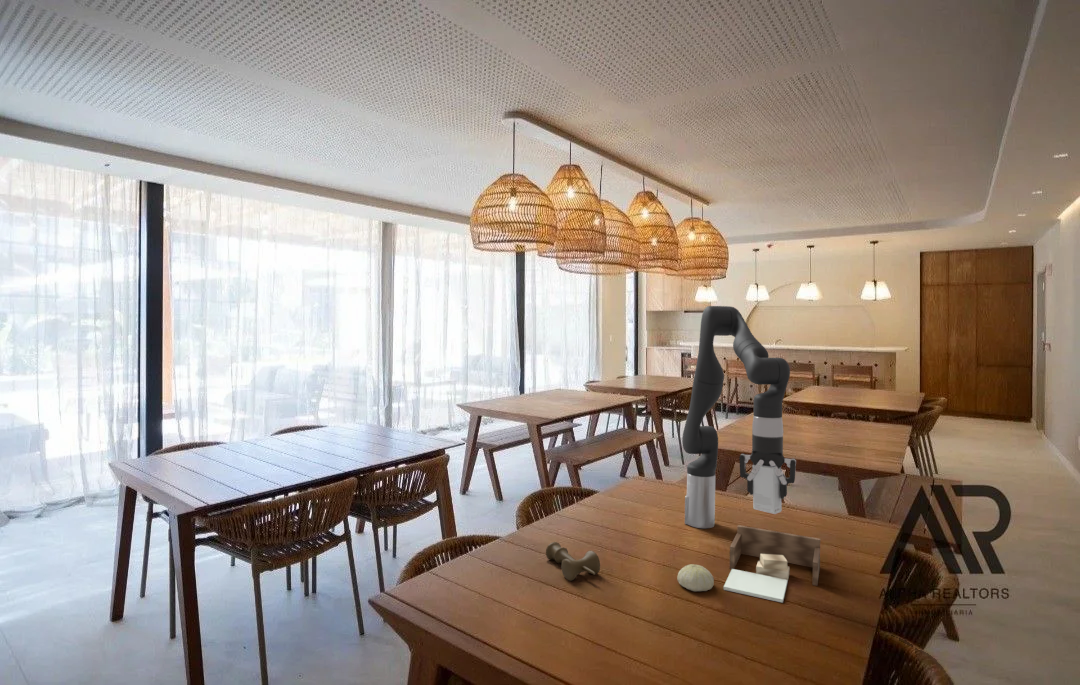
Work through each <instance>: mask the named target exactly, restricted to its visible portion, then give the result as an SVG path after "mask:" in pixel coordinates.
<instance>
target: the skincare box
mask: <svg viewBox="0 0 1080 685" xmlns="http://www.w3.org/2000/svg"><path fill="white" fill-rule="evenodd" d="M755 466H756V465H754V464H753V463H752V469H751V470H753V469H754V467H755ZM755 470H756V469H755ZM779 470H780V472H781V470H782V466H781V467H780V468H779ZM781 483H782V482H781V481H780V479H779V478H778V476H777V475H776V467H771V466H763V465H762V466H761V467H760V469H759V470H758V472H757V473H756V474H755V476H754V477H753V495H752V506H753V510H757V511H761V512H765V513H767V514H773V515H777V514H779V513H781V512H782V510H783V509H782V508H783V507H782V506H783V505H782V499H781Z"/></svg>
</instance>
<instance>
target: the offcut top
mask: <svg viewBox="0 0 1080 685" xmlns="http://www.w3.org/2000/svg"><path fill="white" fill-rule="evenodd" d="M759 561H760V563H761V565H762V567H763V568H764V569H774V570H787V566H788V563H787V560H786V558H785V557H784V556H783V555H773V554H760V557H759Z"/></svg>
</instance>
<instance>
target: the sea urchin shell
mask: <svg viewBox="0 0 1080 685" xmlns="http://www.w3.org/2000/svg"><path fill="white" fill-rule="evenodd" d="M676 578H677V582H678V584H679V585H680V586H681V587H683V588H686V589H687V590H689V591H692V592H707V591H708V590H712V588H713V586H714V581H715V579H714V576H713V575H712V573H711V571H710V570H708V569H707V568H706V567H704V566H703V565H700V564H696V563H695V564H693V563H691V564H686V565H684V566H683V567H682V568H680V570H679V571H678V573H677V577H676Z"/></svg>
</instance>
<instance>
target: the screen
mask: <svg viewBox="0 0 1080 685" xmlns="http://www.w3.org/2000/svg"><path fill="white" fill-rule="evenodd" d="M736 528H737V530H736V534H735V536H734V538H733V540H732V542H731V543H730V545H729V569H731V570H732V569H735V568H736V566H737V563H738V561H739V559H740V558H741V555H747V556H751V557H757V558H760V554H773V555H783V556H784V557H785V558H786V560H787V564H794V565H798V566H799V565H800V566H804V567H808V568H812V586H816V587H817V586H818V585H819V578H820V577H819V576H820V575H819V574H820V569H821V568H820V567H821V538H818V537H812V536H806V535H802V534H801V535H799V534H793V533H788V532H782V531H777V530H770V529H763V528H758V527H752V526H746V525H740V524H738V525H737V526H736Z"/></svg>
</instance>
